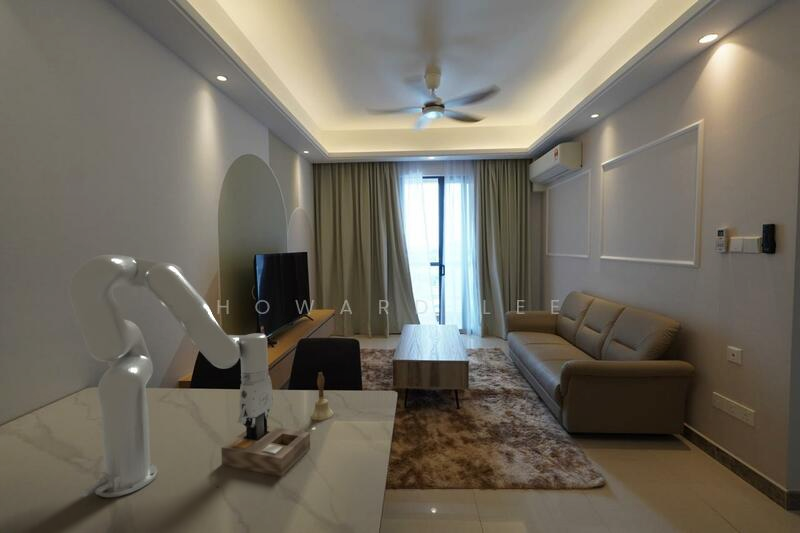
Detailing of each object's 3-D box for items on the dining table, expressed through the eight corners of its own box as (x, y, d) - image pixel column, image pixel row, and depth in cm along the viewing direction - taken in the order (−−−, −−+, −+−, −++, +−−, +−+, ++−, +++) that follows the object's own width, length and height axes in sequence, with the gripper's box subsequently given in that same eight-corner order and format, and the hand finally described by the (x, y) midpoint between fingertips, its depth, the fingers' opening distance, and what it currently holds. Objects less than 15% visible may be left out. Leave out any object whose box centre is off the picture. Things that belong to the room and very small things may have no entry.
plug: (258, 447, 103) (257, 417, 103) (247, 445, 104) (246, 416, 104) (267, 440, 107) (266, 411, 107) (256, 438, 108) (255, 410, 108)
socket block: (310, 448, 106) (309, 431, 106) (281, 476, 93) (281, 457, 93) (255, 439, 112) (255, 423, 112) (221, 464, 99) (221, 446, 99)
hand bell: (310, 422, 124) (309, 377, 123) (310, 412, 132) (309, 370, 131) (334, 418, 126) (333, 375, 125) (332, 409, 134) (331, 368, 133)
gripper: (245, 386, 96) (247, 451, 96) (282, 367, 112) (284, 423, 112) (223, 384, 98) (225, 448, 99) (263, 365, 114) (265, 420, 115)
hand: (257, 434), depth 105 cm, fingers closed on plug, 3 cm apart
